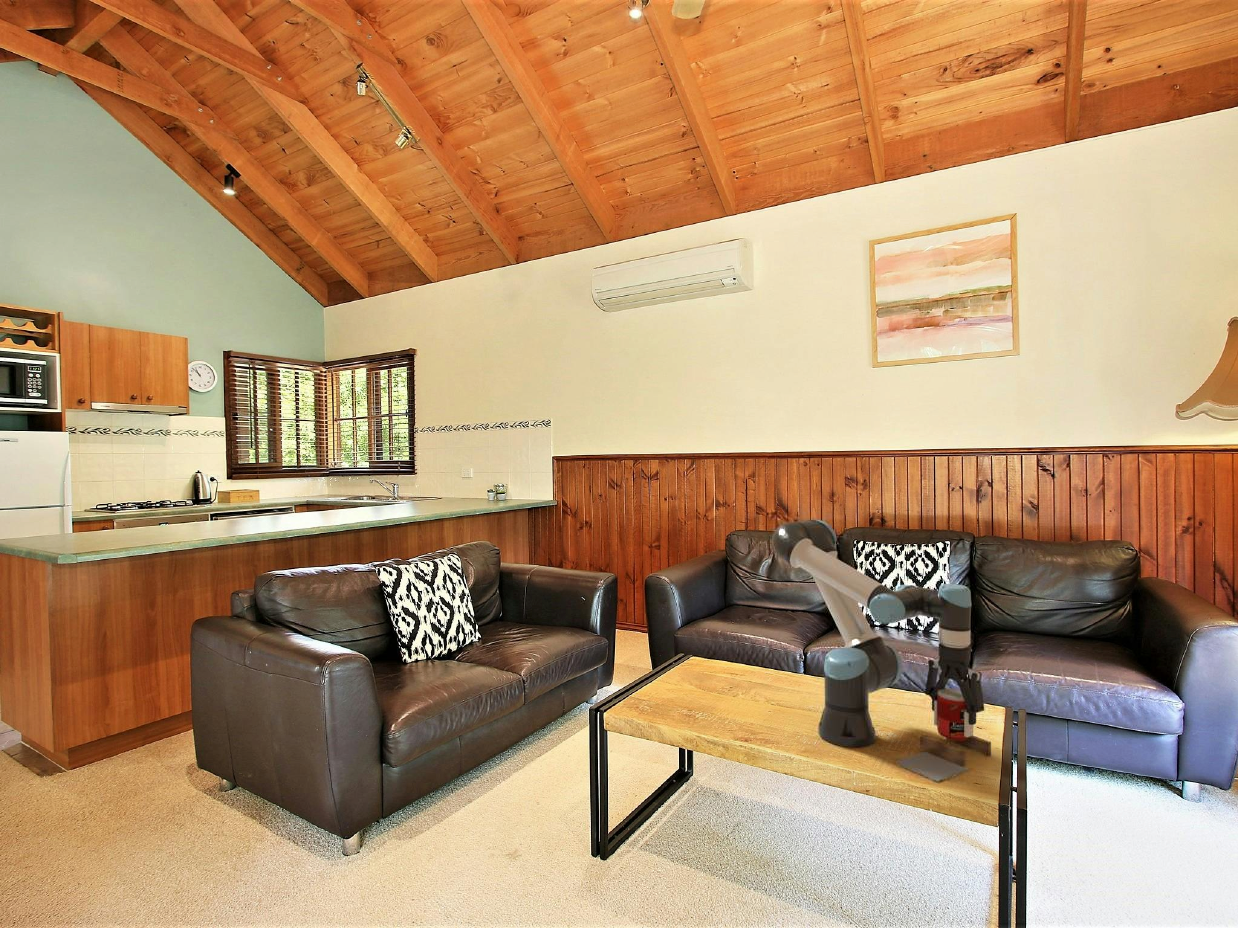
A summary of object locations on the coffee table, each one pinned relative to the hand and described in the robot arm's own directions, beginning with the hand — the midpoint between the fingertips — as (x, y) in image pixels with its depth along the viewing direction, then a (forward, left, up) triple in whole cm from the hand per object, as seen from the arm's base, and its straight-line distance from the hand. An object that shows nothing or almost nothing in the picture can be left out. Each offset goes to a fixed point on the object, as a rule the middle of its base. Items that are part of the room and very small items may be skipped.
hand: (953, 729), depth 178 cm
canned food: (0, 0, -1) cm, 2 cm away
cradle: (0, 0, -6) cm, 6 cm away
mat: (+2, -13, -6) cm, 14 cm away
